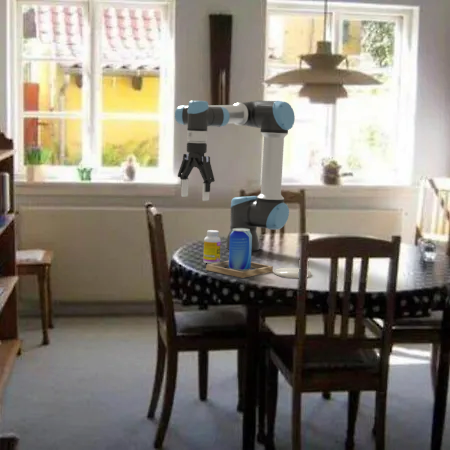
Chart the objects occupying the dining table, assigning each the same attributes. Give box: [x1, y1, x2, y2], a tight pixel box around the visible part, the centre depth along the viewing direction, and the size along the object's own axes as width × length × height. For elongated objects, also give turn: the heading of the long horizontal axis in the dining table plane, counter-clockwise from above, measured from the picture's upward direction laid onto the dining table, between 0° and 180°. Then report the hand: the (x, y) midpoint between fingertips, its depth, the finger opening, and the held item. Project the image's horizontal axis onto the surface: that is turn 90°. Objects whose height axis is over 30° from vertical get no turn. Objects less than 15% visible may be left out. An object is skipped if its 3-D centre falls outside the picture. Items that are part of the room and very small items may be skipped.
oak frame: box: [205, 260, 274, 279], centre depth 302 cm, size 18×18×2 cm
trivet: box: [273, 267, 312, 279], centre depth 299 cm, size 14×14×1 cm
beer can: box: [228, 228, 252, 272], centre depth 301 cm, size 8×8×16 cm
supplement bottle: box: [202, 229, 222, 265], centre depth 314 cm, size 7×7×13 cm
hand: (194, 198), depth 300 cm, fingers open, 13 cm apart
